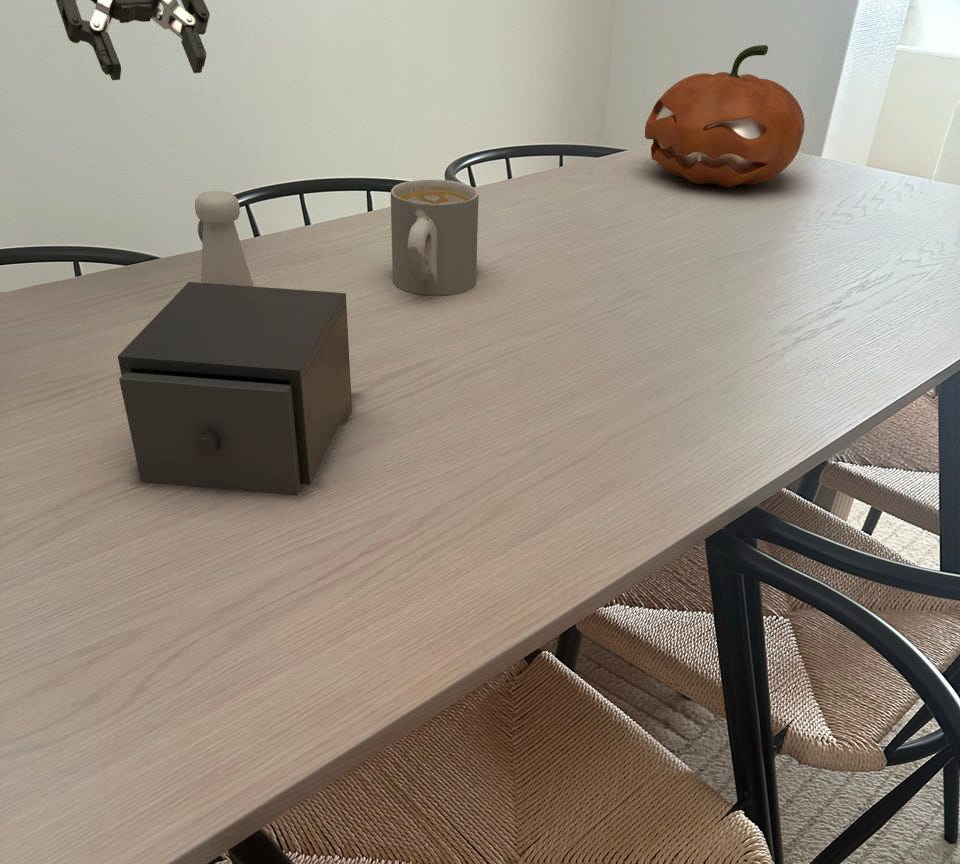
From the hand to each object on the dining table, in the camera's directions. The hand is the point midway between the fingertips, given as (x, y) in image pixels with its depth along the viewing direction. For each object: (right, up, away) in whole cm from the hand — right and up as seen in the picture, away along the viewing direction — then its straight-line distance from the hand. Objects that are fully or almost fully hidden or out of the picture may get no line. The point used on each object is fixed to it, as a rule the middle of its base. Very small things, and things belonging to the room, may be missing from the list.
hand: (158, 71), depth 100 cm
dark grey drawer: (+13, -42, -17) cm, 47 cm away
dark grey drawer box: (+13, -40, -14) cm, 45 cm away
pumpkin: (+70, +16, +58) cm, 92 cm away
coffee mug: (+26, -16, +17) cm, 35 cm away
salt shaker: (+6, -23, +7) cm, 25 cm away
